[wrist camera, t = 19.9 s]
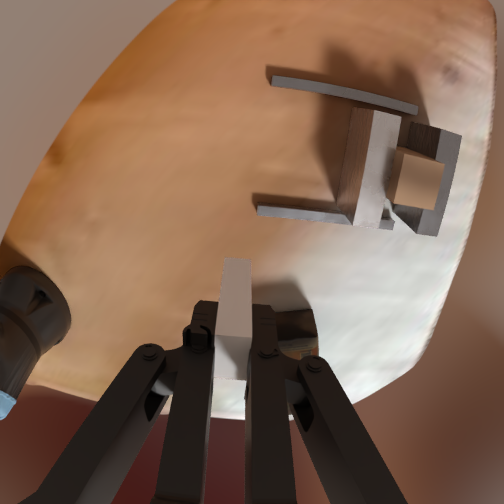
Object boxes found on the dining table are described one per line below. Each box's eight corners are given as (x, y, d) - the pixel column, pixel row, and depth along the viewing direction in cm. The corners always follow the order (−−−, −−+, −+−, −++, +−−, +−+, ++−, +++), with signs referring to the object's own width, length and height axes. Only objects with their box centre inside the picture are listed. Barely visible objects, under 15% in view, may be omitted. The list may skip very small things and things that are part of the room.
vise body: (256, 211, 38) (258, 235, 32) (271, 76, 31) (277, 70, 25) (407, 229, 39) (431, 252, 33) (433, 111, 32) (464, 117, 26)
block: (398, 185, 37) (433, 210, 29) (363, 179, 37) (393, 203, 29) (406, 148, 35) (444, 164, 27) (371, 139, 34) (404, 153, 26)
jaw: (335, 203, 38) (352, 225, 32) (352, 107, 33) (374, 109, 26) (358, 206, 38) (378, 228, 32) (375, 112, 33) (401, 116, 26)
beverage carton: (270, 392, 54) (272, 421, 48) (257, 311, 46) (258, 342, 40) (314, 386, 54) (319, 415, 48) (312, 304, 45) (321, 334, 39)
